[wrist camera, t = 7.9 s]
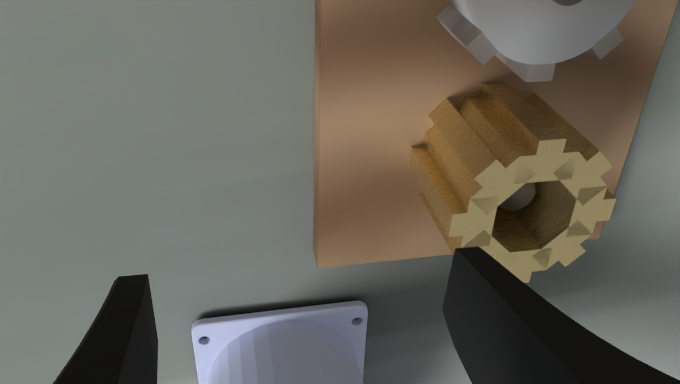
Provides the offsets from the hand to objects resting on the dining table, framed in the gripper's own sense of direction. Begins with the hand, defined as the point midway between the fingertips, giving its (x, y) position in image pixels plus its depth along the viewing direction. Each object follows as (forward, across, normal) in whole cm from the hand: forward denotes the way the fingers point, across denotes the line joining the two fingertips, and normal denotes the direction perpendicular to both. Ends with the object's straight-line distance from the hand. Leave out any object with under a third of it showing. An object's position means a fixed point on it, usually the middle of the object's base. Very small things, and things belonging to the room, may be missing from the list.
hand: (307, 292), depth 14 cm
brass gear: (+9, -8, +2) cm, 12 cm away
